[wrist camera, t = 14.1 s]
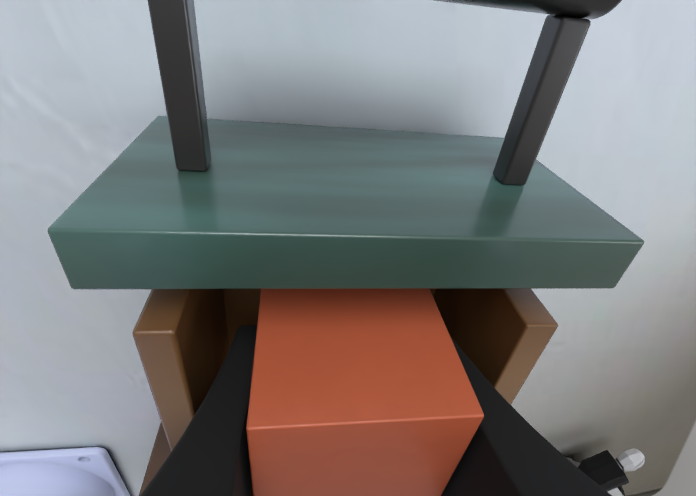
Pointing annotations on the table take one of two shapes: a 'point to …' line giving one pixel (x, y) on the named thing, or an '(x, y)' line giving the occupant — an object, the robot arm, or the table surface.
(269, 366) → the block
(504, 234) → the drawer
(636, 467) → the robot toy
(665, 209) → the table surface
